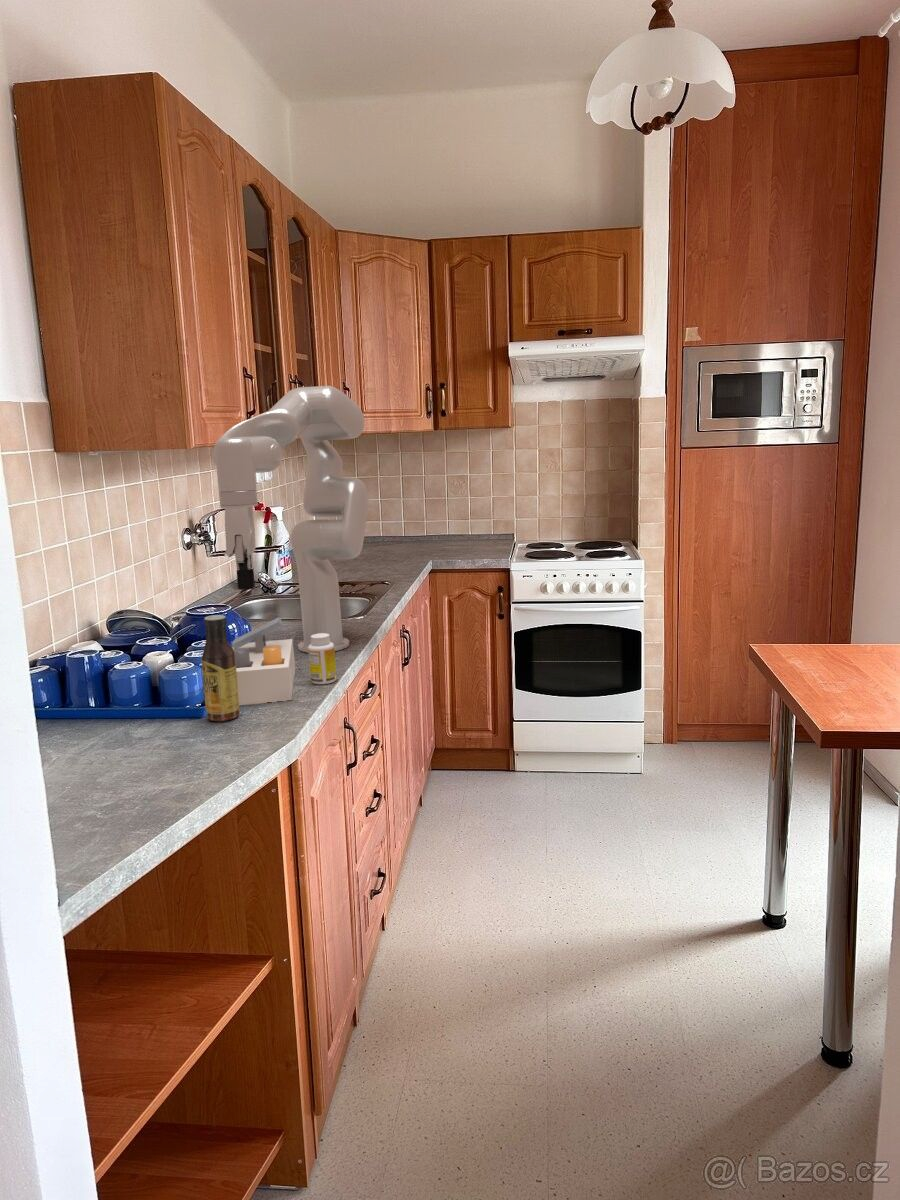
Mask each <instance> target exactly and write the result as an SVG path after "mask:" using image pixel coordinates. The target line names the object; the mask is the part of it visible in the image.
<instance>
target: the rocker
mask: <svg viewBox="0 0 900 1200" xmlns="http://www.w3.org/2000/svg"><path fill="white" fill-rule="evenodd" d="M282 624H283V621H282V619H281V616H279V617H277V618H274V619H272V620H270V621H269V622H267V623H265V624H263V625H261V626H258V627H256V628H254V629H253V630H250V631H248V632H247V633H244V634H243V635H241V636H238V637H237V638H234V640H233V642H232V643H231V646H232V647H233V648H234V649H237V648H239V647H241V646H243V645H245V644H247V643H251V642H254V641H255V637H259V636H263V635H265V636H266V635H267V634H270V633H271V632H273V631H275V630H277V629H279V628H281V627H282Z"/></svg>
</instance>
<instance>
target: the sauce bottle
mask: <svg viewBox="0 0 900 1200" xmlns="http://www.w3.org/2000/svg"><path fill="white" fill-rule="evenodd" d="M227 623H228V621H227V617H226V615H223V614H214V615H207V616H205V617H204V618H203V625H204V628H205V636H206V637H205V644H204V648H203V652H202V657H201V659H200V660H201V670H202V673H201V674H202V682H203V683H202V684H203V693H204V705H205V711H206V714H207V718H208V720H209V721H213V722H217V723H221V722H226V721H230V720H234V719H236V718H237V717H239V716H240V711H239V709H240V705H239V698H238V685H237V673H236V664H235V656H234V650H233V648H232V647H233V646H232V644H230V643H229V641H228V635H227V626H226V625H227Z"/></svg>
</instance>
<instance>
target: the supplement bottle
mask: <svg viewBox="0 0 900 1200" xmlns="http://www.w3.org/2000/svg"><path fill="white" fill-rule="evenodd" d="M311 643H312V644H310V645H309V646H308V653H307V654H308V661H309V662H308V663H309V664H308V665H309V673H310V675H309V676H310V681H311V683H312V684H315V685H328V684H332V683H335V682H336V681H337V678H338V676H337V675H338V674H337V663H336V653H335V652H336V651H335V650H334V644H333V643H332V642H330V636H329V634H327V633H319V634H314V635H312V636H311Z"/></svg>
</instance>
